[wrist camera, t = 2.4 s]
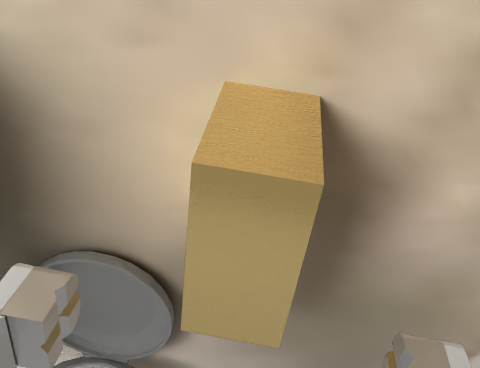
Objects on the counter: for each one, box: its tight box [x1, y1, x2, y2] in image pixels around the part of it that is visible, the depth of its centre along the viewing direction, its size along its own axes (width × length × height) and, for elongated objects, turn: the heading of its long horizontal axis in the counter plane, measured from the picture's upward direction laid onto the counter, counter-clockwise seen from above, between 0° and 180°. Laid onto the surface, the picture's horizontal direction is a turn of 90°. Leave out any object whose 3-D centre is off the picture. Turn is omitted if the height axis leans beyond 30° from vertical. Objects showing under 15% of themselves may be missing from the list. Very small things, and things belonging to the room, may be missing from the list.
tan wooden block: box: [181, 81, 324, 348], centre depth 14 cm, size 6×3×5 cm, turn 173°
